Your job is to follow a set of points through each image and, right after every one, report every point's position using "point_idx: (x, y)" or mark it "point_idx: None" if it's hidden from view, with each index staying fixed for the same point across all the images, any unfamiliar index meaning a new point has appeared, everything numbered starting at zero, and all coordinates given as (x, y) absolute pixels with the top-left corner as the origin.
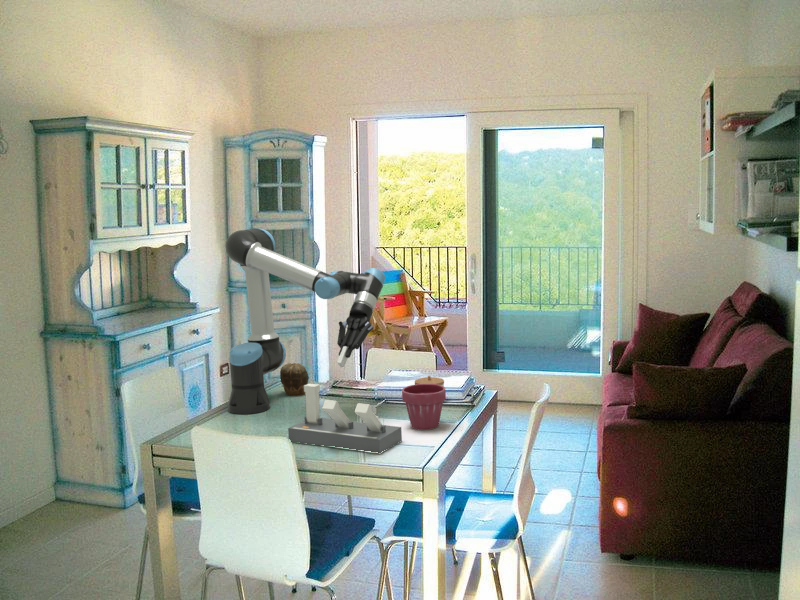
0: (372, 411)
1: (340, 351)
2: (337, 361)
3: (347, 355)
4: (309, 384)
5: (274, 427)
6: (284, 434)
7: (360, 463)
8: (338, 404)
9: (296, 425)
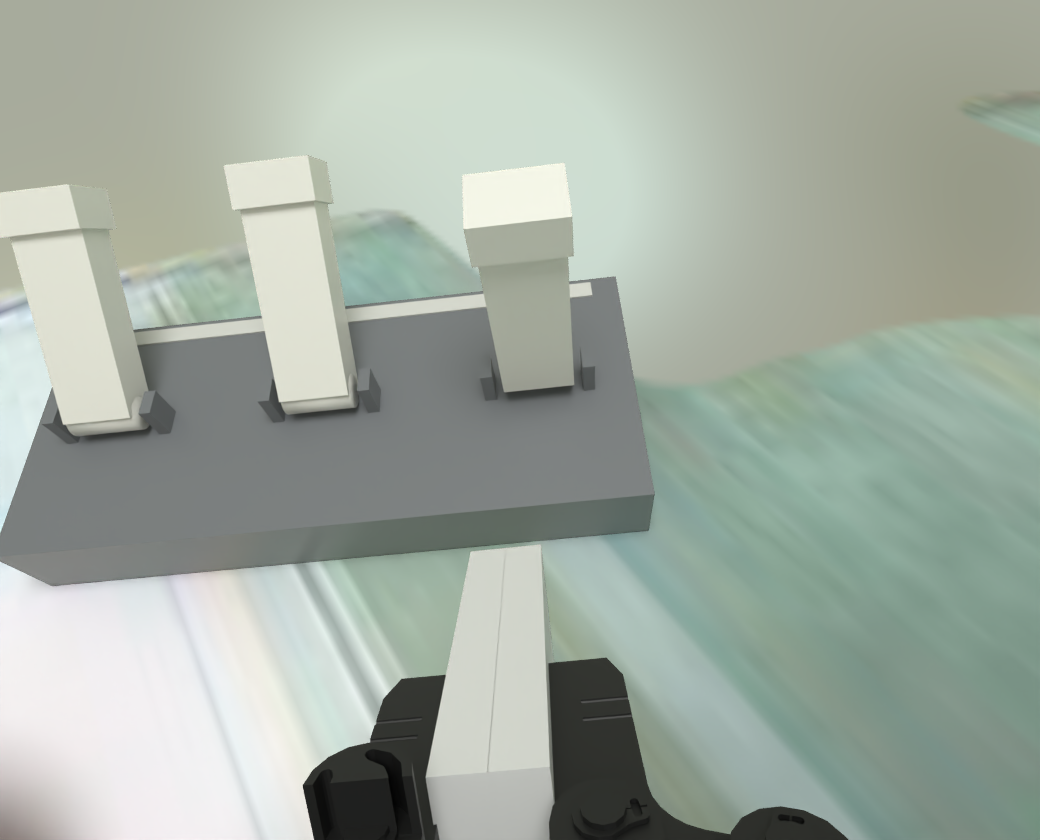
0: (19, 265)
1: (602, 710)
2: (538, 550)
3: (400, 681)
4: (547, 200)
5: (905, 467)
6: (733, 398)
7: (162, 272)
8: (233, 202)
9: (608, 323)
